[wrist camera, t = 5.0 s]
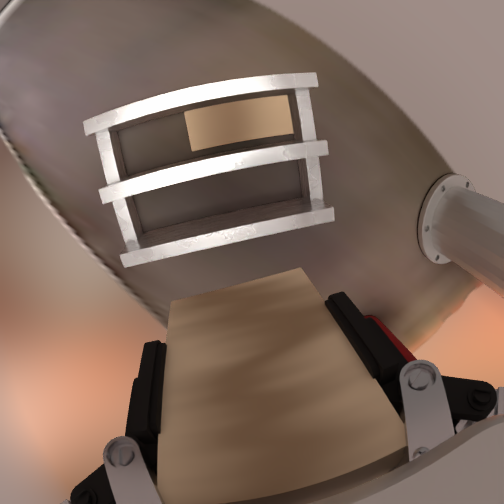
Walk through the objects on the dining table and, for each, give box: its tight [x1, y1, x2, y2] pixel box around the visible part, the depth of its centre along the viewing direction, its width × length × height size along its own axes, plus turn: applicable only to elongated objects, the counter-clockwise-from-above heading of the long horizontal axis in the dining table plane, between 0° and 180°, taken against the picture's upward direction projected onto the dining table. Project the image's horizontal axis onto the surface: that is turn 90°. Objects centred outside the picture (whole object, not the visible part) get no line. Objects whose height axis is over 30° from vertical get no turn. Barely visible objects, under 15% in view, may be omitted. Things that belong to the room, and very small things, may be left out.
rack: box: [83, 73, 335, 268], centre depth 22 cm, size 18×12×5 cm
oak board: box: [184, 95, 294, 151], centre depth 19 cm, size 6×2×9 cm, turn 100°
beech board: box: [157, 267, 406, 504], centre depth 9 cm, size 6×2×9 cm, turn 102°
